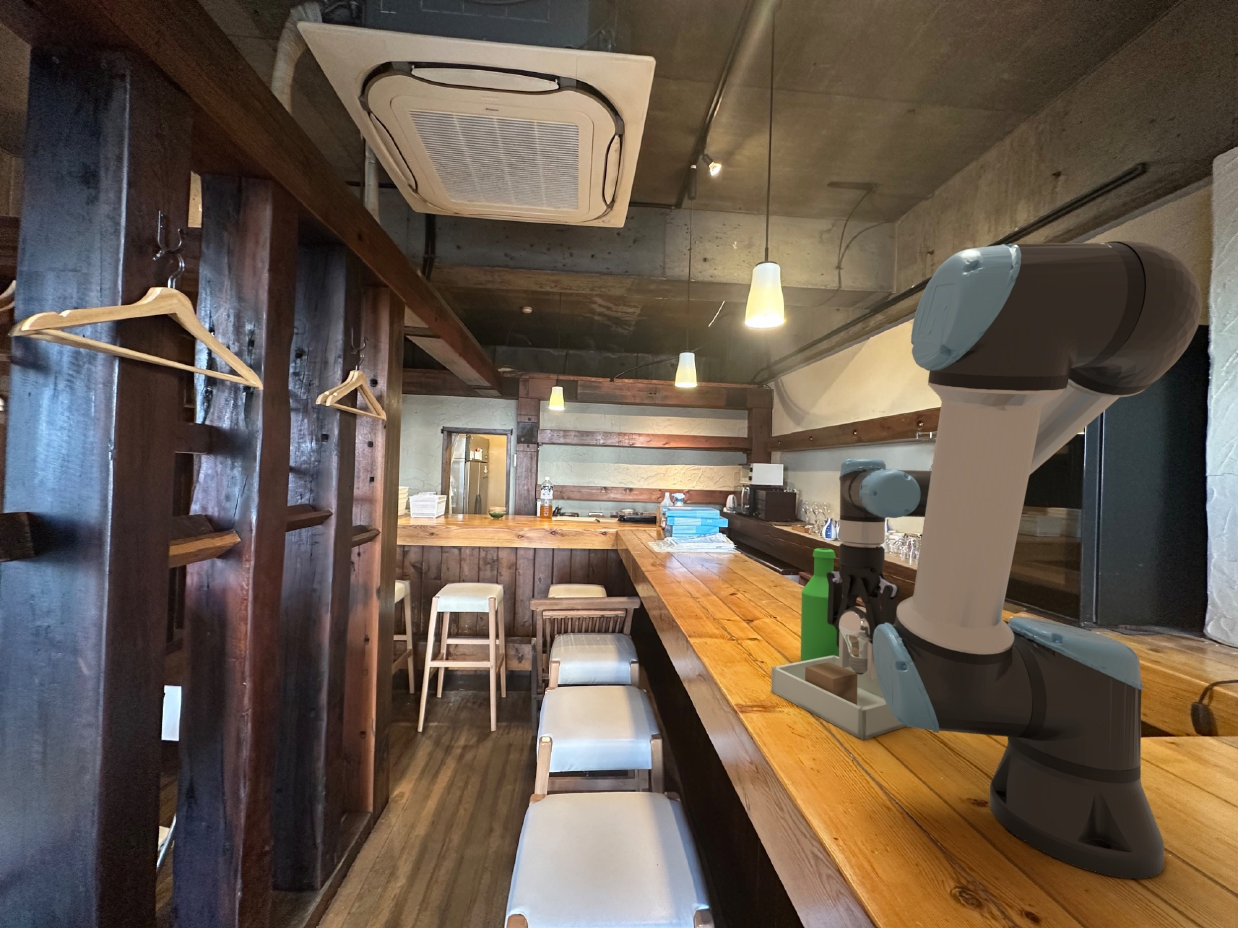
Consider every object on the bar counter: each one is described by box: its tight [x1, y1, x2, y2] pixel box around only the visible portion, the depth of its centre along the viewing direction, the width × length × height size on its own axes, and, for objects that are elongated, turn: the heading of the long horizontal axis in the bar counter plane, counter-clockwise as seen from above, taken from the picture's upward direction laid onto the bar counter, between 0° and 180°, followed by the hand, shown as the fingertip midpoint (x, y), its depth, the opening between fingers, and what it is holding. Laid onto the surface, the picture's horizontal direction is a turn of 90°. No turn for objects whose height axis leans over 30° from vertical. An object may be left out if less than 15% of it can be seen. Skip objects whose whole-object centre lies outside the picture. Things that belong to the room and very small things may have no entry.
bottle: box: [800, 547, 843, 662], centre depth 111 cm, size 9×9×25 cm
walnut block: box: [805, 662, 858, 705], centre depth 91 cm, size 6×6×6 cm
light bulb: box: [839, 605, 872, 675], centre depth 94 cm, size 7×7×12 cm
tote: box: [770, 655, 907, 741], centre depth 92 cm, size 20×17×4 cm
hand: (859, 672), depth 94 cm, fingers closed on light bulb, 5 cm apart
